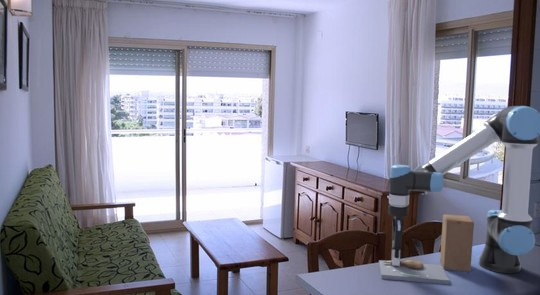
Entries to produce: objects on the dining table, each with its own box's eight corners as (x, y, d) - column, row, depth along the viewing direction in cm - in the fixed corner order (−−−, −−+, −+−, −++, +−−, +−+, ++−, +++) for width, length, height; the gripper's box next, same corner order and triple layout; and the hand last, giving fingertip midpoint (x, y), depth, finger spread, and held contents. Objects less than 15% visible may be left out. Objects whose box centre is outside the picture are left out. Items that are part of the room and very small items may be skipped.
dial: (421, 263, 188) (423, 240, 187) (424, 269, 181) (425, 246, 180) (382, 260, 190) (383, 237, 189) (383, 266, 184) (385, 243, 183)
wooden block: (470, 272, 184) (474, 221, 182) (443, 269, 186) (446, 220, 184) (465, 263, 194) (468, 215, 192) (439, 261, 196) (442, 213, 194)
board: (441, 268, 187) (441, 264, 187) (449, 284, 172) (449, 279, 172) (378, 263, 191) (379, 259, 191) (381, 278, 176) (381, 274, 175)
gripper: (387, 199, 192) (384, 256, 195) (390, 209, 176) (387, 270, 179) (406, 201, 191) (403, 257, 193) (411, 210, 175) (407, 271, 178)
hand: (395, 263), depth 186 cm, fingers closed on dial, 3 cm apart
